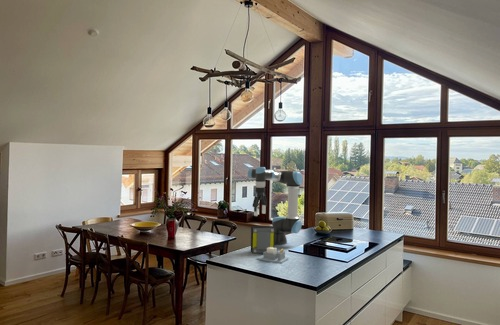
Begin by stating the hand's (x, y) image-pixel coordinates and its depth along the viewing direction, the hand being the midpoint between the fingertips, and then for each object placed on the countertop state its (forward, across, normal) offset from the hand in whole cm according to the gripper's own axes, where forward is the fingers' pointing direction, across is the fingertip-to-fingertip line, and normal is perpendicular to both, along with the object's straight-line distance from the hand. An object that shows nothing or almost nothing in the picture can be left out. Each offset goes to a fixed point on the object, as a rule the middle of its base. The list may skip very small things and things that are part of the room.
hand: (259, 214), depth 282 cm
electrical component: (+32, -12, -3) cm, 34 cm away
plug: (+30, +4, +13) cm, 33 cm away
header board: (+31, +4, +14) cm, 35 cm away
